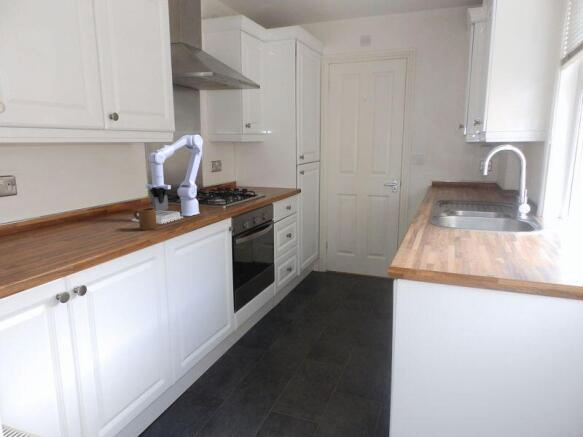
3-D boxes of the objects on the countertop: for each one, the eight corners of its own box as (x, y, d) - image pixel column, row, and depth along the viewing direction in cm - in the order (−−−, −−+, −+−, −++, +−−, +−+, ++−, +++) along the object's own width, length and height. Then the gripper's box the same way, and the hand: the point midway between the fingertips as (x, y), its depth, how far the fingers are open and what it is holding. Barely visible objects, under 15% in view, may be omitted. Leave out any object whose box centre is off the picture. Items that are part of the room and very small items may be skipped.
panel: (165, 208, 218) (164, 195, 217) (168, 208, 218) (167, 195, 216) (153, 211, 210) (152, 197, 209) (156, 211, 210) (155, 197, 208)
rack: (154, 215, 227) (153, 209, 226) (183, 218, 218) (182, 211, 218) (131, 221, 213) (131, 214, 212) (161, 224, 204) (161, 217, 204)
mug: (129, 229, 193) (127, 209, 191) (141, 226, 200) (139, 207, 198) (148, 231, 188) (147, 211, 186) (160, 228, 195) (158, 208, 193)
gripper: (141, 176, 210) (143, 203, 212) (163, 177, 204) (165, 204, 206) (151, 175, 216) (153, 201, 219) (172, 176, 210) (174, 202, 213)
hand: (159, 202), depth 213 cm, fingers closed on panel, 2 cm apart
